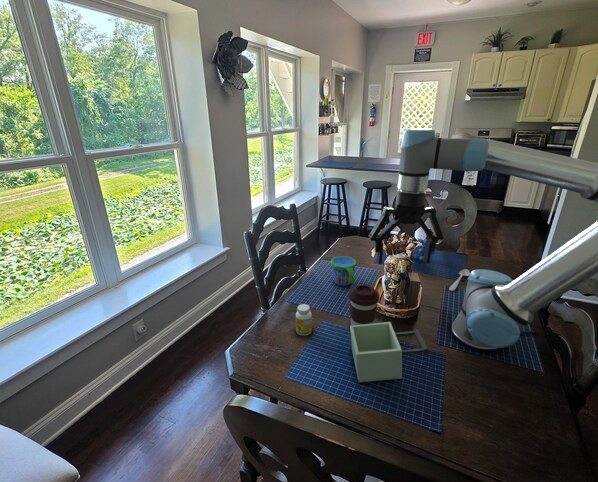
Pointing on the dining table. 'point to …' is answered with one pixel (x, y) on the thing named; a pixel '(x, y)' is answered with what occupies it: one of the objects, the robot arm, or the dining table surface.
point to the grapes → (421, 250)
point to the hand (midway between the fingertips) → (402, 261)
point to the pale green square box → (380, 351)
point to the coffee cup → (363, 304)
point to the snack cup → (343, 270)
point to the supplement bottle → (303, 320)
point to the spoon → (463, 273)
